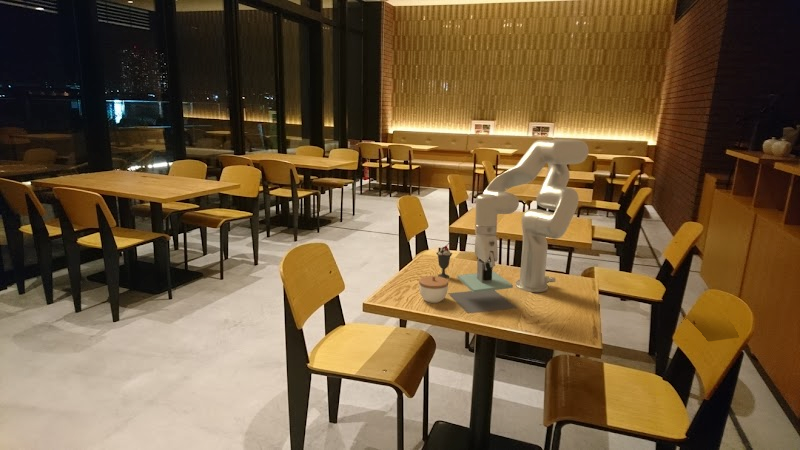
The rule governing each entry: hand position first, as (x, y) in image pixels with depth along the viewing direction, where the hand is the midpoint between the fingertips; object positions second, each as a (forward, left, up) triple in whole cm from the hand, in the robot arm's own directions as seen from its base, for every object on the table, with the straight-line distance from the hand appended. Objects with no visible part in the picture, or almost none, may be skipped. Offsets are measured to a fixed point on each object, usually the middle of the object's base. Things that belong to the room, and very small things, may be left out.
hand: (484, 277), depth 173 cm
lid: (0, 0, -2) cm, 2 cm away
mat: (+1, 0, -9) cm, 9 cm away
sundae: (+5, -29, -9) cm, 31 cm away
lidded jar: (+18, -5, -9) cm, 21 cm away
